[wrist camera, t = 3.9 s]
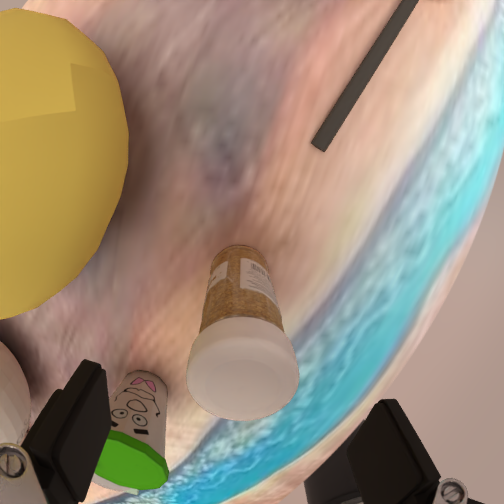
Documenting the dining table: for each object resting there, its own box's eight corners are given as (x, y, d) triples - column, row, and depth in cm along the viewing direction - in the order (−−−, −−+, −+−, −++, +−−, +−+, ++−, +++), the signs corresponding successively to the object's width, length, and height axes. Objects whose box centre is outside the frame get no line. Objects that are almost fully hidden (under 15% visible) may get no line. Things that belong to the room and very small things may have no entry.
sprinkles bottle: (201, 256, 23) (162, 360, 10) (257, 235, 23) (280, 323, 10) (224, 306, 25) (214, 434, 12) (277, 287, 24) (313, 407, 11)
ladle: (460, -27, 15) (480, -37, 11) (343, 168, 25) (359, 176, 21) (404, -70, 13) (420, -85, 9) (266, 119, 24) (269, 117, 20)
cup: (192, 372, 26) (167, 514, 12) (175, 421, 28) (153, 540, 14) (114, 345, 25) (45, 467, 11) (107, 398, 27) (60, 506, 13)
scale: (136, 454, 30) (132, 471, 27) (140, 483, 32) (137, 498, 30) (75, 434, 29) (67, 449, 26) (86, 467, 32) (80, 480, 29)
